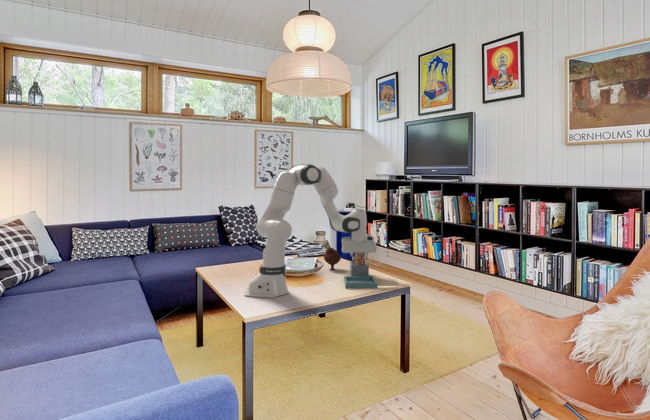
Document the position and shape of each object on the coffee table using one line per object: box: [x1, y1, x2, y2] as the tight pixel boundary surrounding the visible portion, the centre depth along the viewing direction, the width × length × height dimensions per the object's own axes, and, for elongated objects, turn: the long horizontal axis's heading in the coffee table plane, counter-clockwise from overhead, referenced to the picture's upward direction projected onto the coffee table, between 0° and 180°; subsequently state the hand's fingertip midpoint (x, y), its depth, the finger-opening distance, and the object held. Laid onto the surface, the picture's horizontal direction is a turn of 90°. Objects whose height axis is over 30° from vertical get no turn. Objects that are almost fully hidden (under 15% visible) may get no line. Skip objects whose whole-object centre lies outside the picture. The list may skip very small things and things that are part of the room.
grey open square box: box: [349, 261, 370, 276], centre depth 232 cm, size 10×10×8 cm
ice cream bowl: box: [323, 247, 342, 271], centre depth 248 cm, size 11×11×15 cm
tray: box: [343, 275, 378, 289], centre depth 218 cm, size 17×14×3 cm
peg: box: [354, 253, 364, 265], centre depth 232 cm, size 5×5×13 cm
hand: (359, 260), depth 231 cm, fingers closed on peg, 5 cm apart
